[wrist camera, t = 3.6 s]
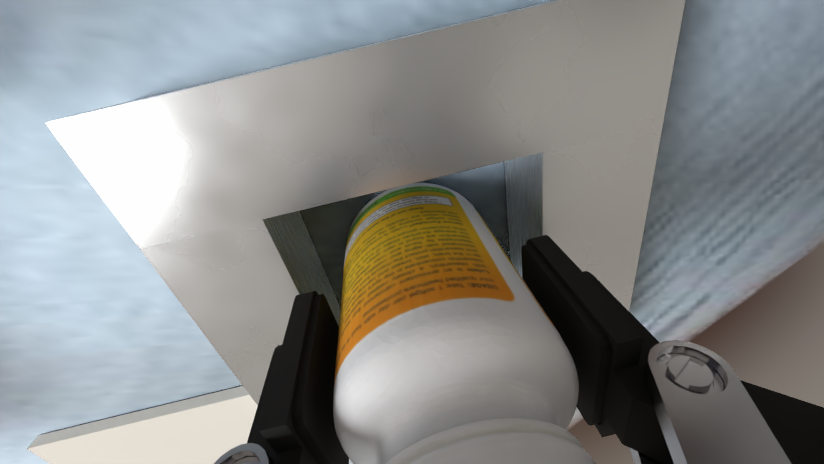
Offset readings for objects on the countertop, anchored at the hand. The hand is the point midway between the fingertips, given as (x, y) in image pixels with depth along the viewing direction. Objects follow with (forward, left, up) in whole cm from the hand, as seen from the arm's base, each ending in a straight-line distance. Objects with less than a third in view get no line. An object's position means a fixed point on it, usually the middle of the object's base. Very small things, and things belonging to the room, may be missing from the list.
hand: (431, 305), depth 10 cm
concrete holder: (0, 0, -4) cm, 4 cm away
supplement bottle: (0, 0, -4) cm, 4 cm away
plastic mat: (+14, +11, -4) cm, 18 cm away
